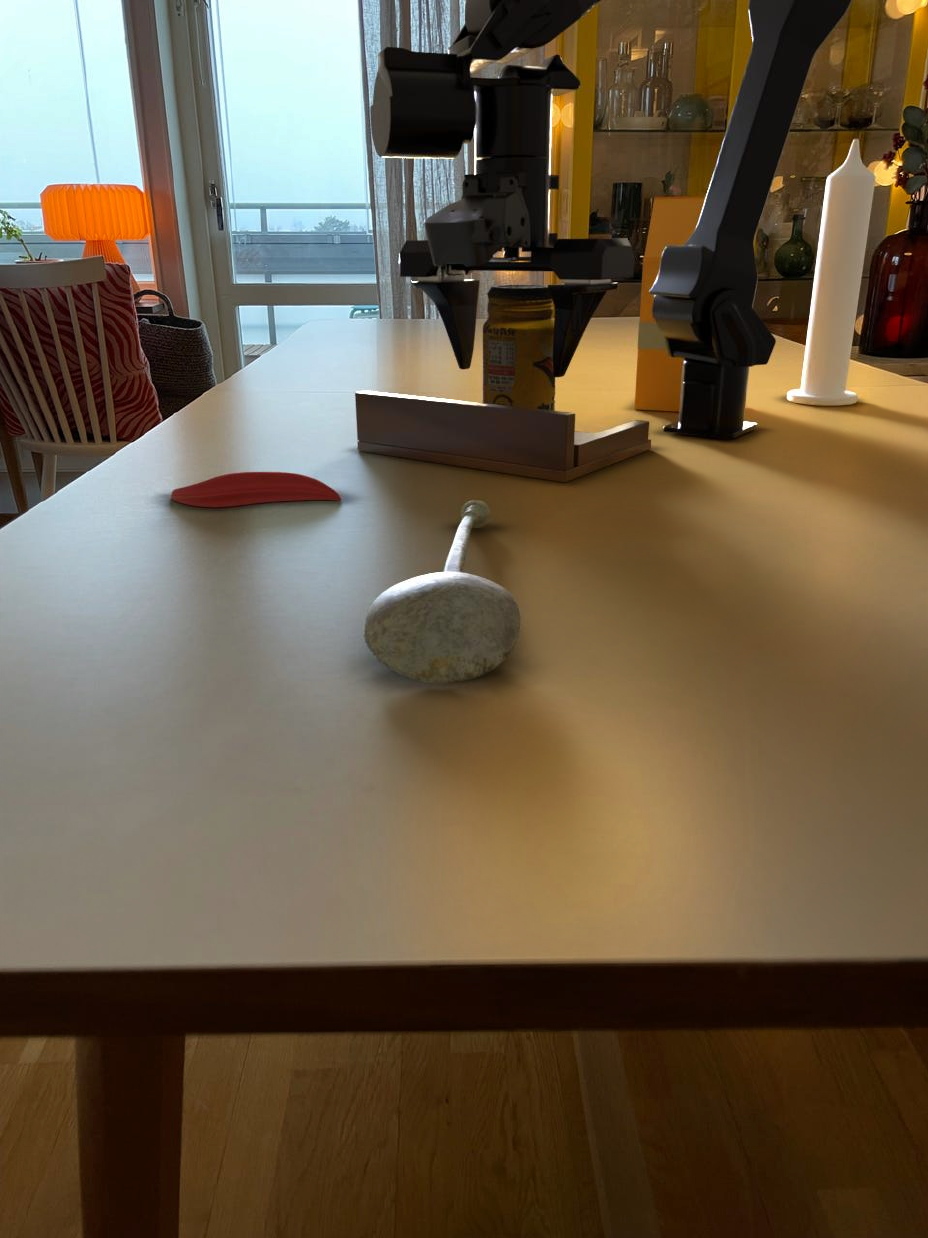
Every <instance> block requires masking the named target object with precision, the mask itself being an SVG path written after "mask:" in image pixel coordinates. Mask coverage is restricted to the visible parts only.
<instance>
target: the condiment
mask: <svg viewBox="0 0 928 1238" xmlns="http://www.w3.org/2000/svg"><path fill="white" fill-rule="evenodd" d="M486 295H487V299H488V301H487V307H486V313H487V317H486V320H485V321H484V323H483V324H482V403H486V404H496V405H505V406H515V407H524V408H534V409H543V410H553V411H556V408H555V406H556V400H555V397H556V377H554V373H553V337H554V317H553V313H554V307H553V305H554V303H553V300H552V298H551V295H550V292H549V290H548V285H542V284H505V285H504V284H503V285H491V286H490V287H489V289H488V291H487V292H486Z"/></svg>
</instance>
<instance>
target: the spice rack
mask: <svg viewBox="0 0 928 1238" xmlns="http://www.w3.org/2000/svg"><path fill="white" fill-rule="evenodd" d="M354 399H355V400H354V401H355V418H356V437H357V451H358V452H363V453H364V452H365V453H371V454H376V455H383V456H390V457H396V458H403V459H410V460H417V461H424V462H429V463H436V464H442V465H449V466H455V467H461V468H462V467H463V468H468V469H475V470H482V471H488V472H495V473H501V474H507V475H515V476H521V477H527V478H535V479H540V480H541V479H542V480H546V481H553V482H558V483H559V482H560V483H567V482H569V481H572V480H574V479H577V478H580V477H582V476H585V475H588V474H591V473H593V472H595V471H598V470H601V469H603V468H607V467H608V466H611V465H614V464H617V463H618V462H621V461H625V460H627V459H629V458H632V457H635V456H638V455H639V454H641V453H644V452H647V451H649V450H651V449H652V439H650V438H649V434H650V421H649V420H642V419H641V420H640V419H635V420H633V421H630V422H627V423H623V424H620V425H617V426H613V427H610V428H607V429H604V430H601V431H599V432H589V431H580V430H576V413H575V412H571V411H561V410H555V411H553V410H543V409H534V408H524V407H515V406H505V405H496V404H486V403H483V402H475V401H465V400H458V399H448V398H439V397H438V398H437V397H429V396H428V397H427V396H419V395H409V394H399V393H389V392H380V391H373V390H372V391H371V390H361V391H360V390H359V391H356V392H354Z"/></svg>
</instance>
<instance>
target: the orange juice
mask: <svg viewBox="0 0 928 1238" xmlns="http://www.w3.org/2000/svg"><path fill="white" fill-rule="evenodd" d="M706 196H707V195H689V196H687V195H684V196H654V198H653V205H652V211H651V217H650V223H649V226H648V227H649V229H648V232H647V233H648V234H647V239H646V246H645V250H644V251H645V252H644V256H643V258H642V272H641V273H642V274H641V275H642V276H641V289H640V290H641V291H640V307H639V321H638V332H637V358H636V374H635V393H634V407H633V408H634V410H643V411H644V410H645V411H659V412H660V411H661V412H662V411H663V412H679V408H680V395H681V382H682V369H683V360H684V359H685V358H680V357H670V356H669V354H668V350H667V346H666V342H665V338H664V335H663V334H662V333H661V331H660V330H659V329H658V326H657V324H656V322H655V319H654V318H653V316H652V307H653V301H654V297H655V295H650V294H649V291H650V289H651V288H652V287H653V285H654V284H655V282H656V279H657V277H658V274H659V269H660V263H661V257H662V254H663V251H664V249H665V247H666V246H683V245H684V244H685V243H686V242H687V240H688V239H689V238H690V236H691V235H692V234H693V233H694V231H695V229H696V227H697V225H698V222H699V218H700V215H701V212H702V209H703V206H704V202H705V199H706Z"/></svg>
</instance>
